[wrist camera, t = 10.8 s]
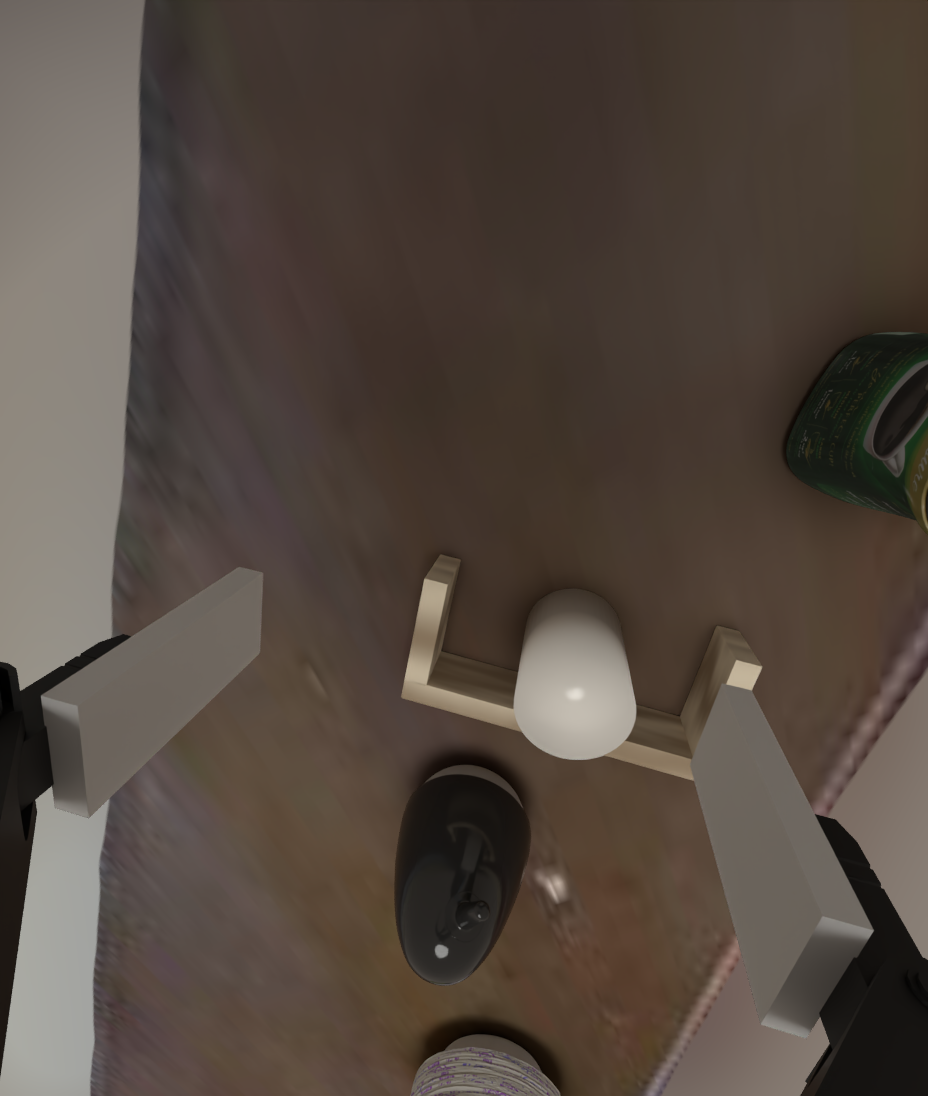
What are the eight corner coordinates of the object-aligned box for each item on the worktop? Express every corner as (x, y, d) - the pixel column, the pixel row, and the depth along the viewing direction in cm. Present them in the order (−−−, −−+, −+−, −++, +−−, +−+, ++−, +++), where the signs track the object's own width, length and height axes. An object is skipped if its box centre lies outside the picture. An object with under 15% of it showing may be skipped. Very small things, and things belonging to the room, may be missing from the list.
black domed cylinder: (559, 788, 47) (556, 975, 32) (490, 861, 50) (461, 1058, 36) (456, 721, 46) (407, 880, 32) (395, 799, 50) (326, 973, 36)
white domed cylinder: (538, 577, 41) (529, 641, 32) (633, 602, 41) (652, 675, 31) (516, 659, 44) (501, 740, 34) (605, 683, 43) (615, 773, 34)
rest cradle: (440, 554, 42) (424, 578, 37) (739, 631, 40) (762, 666, 35) (418, 663, 45) (401, 697, 41) (693, 739, 43) (709, 785, 38)
